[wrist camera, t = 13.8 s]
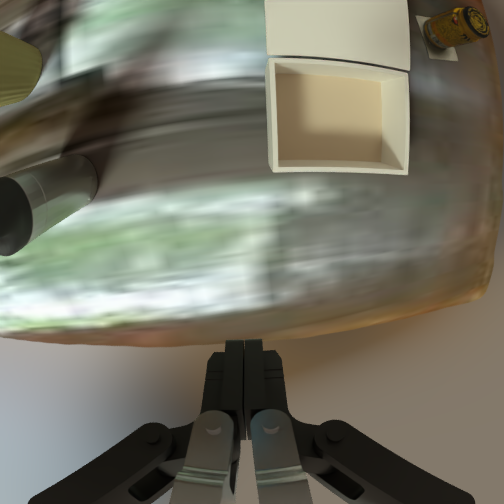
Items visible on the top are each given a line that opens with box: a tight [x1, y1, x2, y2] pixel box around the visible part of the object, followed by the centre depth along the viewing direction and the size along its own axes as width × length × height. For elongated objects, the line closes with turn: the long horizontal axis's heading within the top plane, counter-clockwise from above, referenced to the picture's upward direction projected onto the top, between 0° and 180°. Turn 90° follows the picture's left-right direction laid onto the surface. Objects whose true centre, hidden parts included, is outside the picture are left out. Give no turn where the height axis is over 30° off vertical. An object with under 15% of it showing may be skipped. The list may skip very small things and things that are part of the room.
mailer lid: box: [264, 0, 410, 71], centre depth 23 cm, size 14×18×1 cm
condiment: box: [415, 6, 489, 61], centre depth 24 cm, size 7×8×12 cm
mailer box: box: [265, 58, 410, 175], centre depth 34 cm, size 14×18×8 cm
